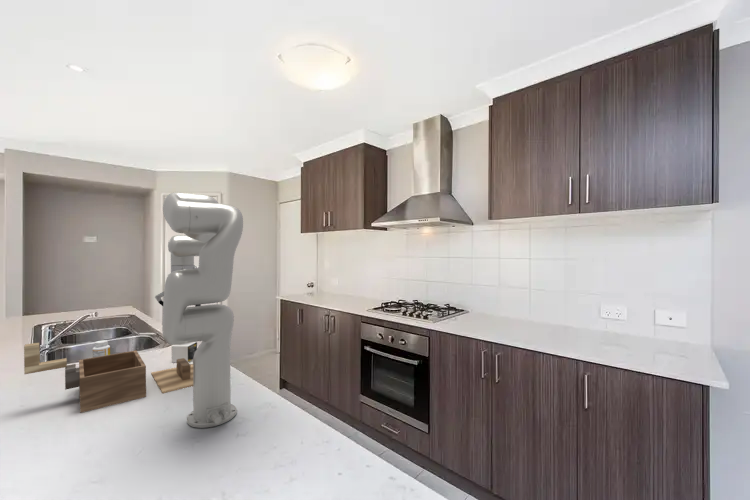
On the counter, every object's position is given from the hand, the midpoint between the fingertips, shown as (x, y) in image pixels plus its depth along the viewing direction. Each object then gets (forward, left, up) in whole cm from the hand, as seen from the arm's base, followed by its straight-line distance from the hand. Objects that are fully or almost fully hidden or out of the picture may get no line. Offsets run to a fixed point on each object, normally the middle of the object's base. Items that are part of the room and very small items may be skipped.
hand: (183, 316), depth 126 cm
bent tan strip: (0, +37, -11) cm, 38 cm away
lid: (0, 0, -23) cm, 23 cm away
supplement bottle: (+34, +22, -23) cm, 47 cm away
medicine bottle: (+21, -5, -23) cm, 32 cm away
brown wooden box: (0, +23, -22) cm, 32 cm away
